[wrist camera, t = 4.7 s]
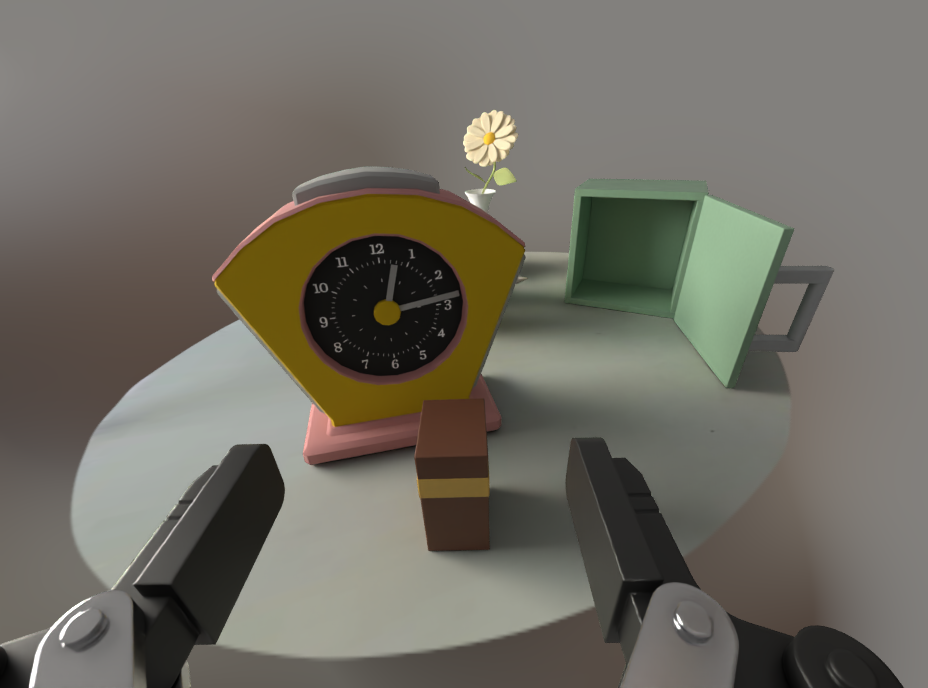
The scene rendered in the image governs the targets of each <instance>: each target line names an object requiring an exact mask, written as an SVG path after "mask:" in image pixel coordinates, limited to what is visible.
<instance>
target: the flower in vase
mask: <svg viewBox="0 0 928 688" xmlns="http://www.w3.org/2000/svg"><path fill="white" fill-rule="evenodd" d="M472 123H473V124H472V125H470V126H468V128H467V131H468V132H467V134H466V135H465V136H464V140H465V141H464V142H463V144H464V145H465V152H468V154H467V155H466V158H467V159H469V160H470V161H473V162H474V163H475V164H477V163H479V164H480V166H484V167H486V166H487V165H489V166H490V165H492V164H493V163H494V168H493V172H492V174H491V176H490V178H489V179H488V182H487V183H486V185H485V187H484V188H483V189H474V190H468V191H465V194H466V195H467V196H468V198H469V200H470V202H471V203H472V204H473V205H475V206H477V207H479V208H481V209H482V210H483V211H485V212H486V213H487V214H488V209H489V204H490V201H491V199H492V197H493V195H494V194H495V192H496V191H495V190H492V189H486V187H487V185H488V183H489V182H490V180H491V178H492V177H493V176H494V179H495V181H496V183H497V184H498V185H505V184H509V183H513V182H516V179H515V177H514V176H513V174H512V173H511V172H510V171H509V170H508V169H507V168H502V169H500V170H497V171H496V172H495V168H496V161H497V162H500V161H501V160H502V159H505V158H506V156H508V155H509V149H512V148H513V147H514V142H515V141H516V139H517V137H518V133H516V132H515V131H516V126H514V123H515V120H514V119H511V116H510V115H508V116H507V115H506V114H504V112H502V111H500V112H497V111H496V110H493V111H492V112H491V113H489V114H487V113H485V112H484V113H483V114H482V115H481V117H480V118H479V119H474V120H473V122H472ZM465 168H466V167H465ZM466 170H467V169H466ZM467 171H468V170H467ZM468 172H469V173H470V174H472V175H474V176H475V177H477V178H479V179H480V180H482V181H483V179H482V178H481V177H479V176H478V175H475V174H473V173H471V172H470V171H468ZM494 172H495V173H494ZM484 182H485V181H484Z"/></svg>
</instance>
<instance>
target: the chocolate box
mask: <svg viewBox="0 0 928 688" xmlns="http://www.w3.org/2000/svg"><path fill="white" fill-rule="evenodd" d="M414 458H415V465H416V472H417V485H418V492H419V497H420V498H421V505H422V512H423V518H424V525H425V531H426V538H427V545H428V550H429V551H444V550H489V549H490V536H489V495H490V486H489V464H488V446H487V430H486V414H485V399H484V398H478V399H446V400H424V401H423V405H422V412H421V418H420V425H419V431H418V437H417V444H416V450H415V457H414Z"/></svg>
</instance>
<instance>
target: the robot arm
mask: <svg viewBox="0 0 928 688" xmlns="http://www.w3.org/2000/svg"><path fill="white" fill-rule="evenodd" d="M284 494H285V487H284V482H283V479H282V477H281V474H280V471H279V469H278V466H277V464H276V461H275V459H274V456H273V454H272V451H271V449H270V447H269V446H268V445H267V444H242V445H235V446H233V447H232V448H231V449H230V450H229V452H228V453H227V454H226V456H225V457H224V459H223V460H222V461H221V463H220V464H219V465H216V466H212V467H210V468H209V469H208V470H207V471H206V472H204V473H203V474H202V475H201V476H199V477H198V478H197V479H196V480H194V481H193V482H192V484H191V485H190V486H189V488H188V489H187V490H186V492H185V493H184V494H183V495H182V497H181V498H180V499H179V503H178V504H176V505H175V506H174V507H173V509H172V510H171V511H170V513H169V514H168V515H167V519H166V521H163V522H162V523H161V525H160V526H159V527H158V529H157V530H156V531H155V532H154V534H153V535H152V536H151V538H150V539H149V540H148V542H147V543H146V544H145V546H144V547H143V548H142V550H141V551H140V552H139V554H138V555H137V556H136V558H135V559H134V560H133V562H132V563H131V564H130V566H129V567H128V568H127V569H126V571H125V572H124V573H123V575H122V576H121V577H120V579H119V580H118V581H117V583H116V584H115V585H114V586H113V587H112V589H111V590H110V591H105V592H102V593H99V594H96V595H94V596H92V597H90V598H88V599H86V600H84V601H82V602H81V603H79V604H78V605H76V606H75V607H73V608H72V609H71V610H69V611H68V612H67V613H66V614H64V616H62V617H61V618H60V619H59V620H58V621H57V622H56V623H55V624H54V625H53V626H52V627H51V628H49V629H46V630H43V631H40V632H37V633H34V634H31V635H28V636H24V637H21V638H18V639H15V640H12V641H9V642H6V643H3V644H0V688H191V682H190V672H189V666H188V663H187V662H186V660H187V658H188V656H189V654H190V652H191V650H192V648H193V646H194V645H200V644H201V645H204V644H206V645H210V644H216V642H217V640H218V638H219V636H220V634H221V632H222V630H223V628H224V626H225V624H226V621H227V619H228V617H229V615H230V613H231V611H232V609H233V607H234V605H235V603H236V601H237V599H238V596H239V594H240V592H241V590H242V588H243V586H244V584H245V582H246V580H247V578H248V576H249V573H250V571H251V569H252V567H253V565H254V563H255V561H256V559H257V557H258V555H259V553H260V551H261V548H262V546H263V544H264V542H265V540H266V538H267V536H268V534H269V532H270V530H271V528H272V526H273V523H274V521H275V519H276V517H277V515H278V513H279V511H280V509H281V507H282V504H283V500H284ZM566 494H567V500H568V504H569V508H570V512H571V516H572V520H573V523H574V527H575V531H576V535H577V539H578V542H579V546H580V550H581V554H582V558H583V561H584V565H585V569H586V573H587V577H588V580H589V584H590V588H591V592H592V596H593V599H594V603H595V607H596V611H597V615H598V619H599V622H600V626H601V629H602V634H603V638H604V641H605V643H620V644H621V647H622V651H623V654H624V657H625V660H626V666H625V669H624V671H623V674H622V677H621V680H620V683H619V686H618V688H903V686H902V684H901V683H900V682H899V680H898V679H897V678H896V676H895V675H894V674H893V673H892V671H891V670H890V669H889V668H888V667H887V666H886V664H885V663H884V662H883V661H882V660H881V659H880V658H879V657H878V656H876V655H875V654H874V653H873V652H872V651H871V650H869V649H868V648H867V647H865V646H864V645H863V644H861V643H860V642H858V641H857V640H855V639H854V638H852V637H850V636H848V635H846V634H845V633H842V632H840V631H837V630H835V629H832V628H828V627H825V626H808V627H805V628H803V629H802V630H800V631H799V632H798V634H797V635H796V636H795V637H793V636H790V635H787V634H783V633H780V632H777V631H774V630H771V629H768V628H765V627H762V626H758V625H755V624H752V623H749V622H746V621H744V620H741V619H738V618H736V617H734V616H732V615H730V614H729V613H727V612H726V611H724V609H723V608H722V607H721V606H720V605H719V604H718V603H717V602H716V601H715V600H714V599H713V598H711V597H710V596H709V595H708V594H706V593H705V592H703V591H702V590H701V589H700V588H699V586H698V585H697V584H696V582H695V581H694V579H693V577H692V575H691V573H690V571H689V569H688V567H687V565H686V563H685V561H684V559H683V557H682V555H681V553H680V551H679V549H678V547H677V545H676V543H675V541H674V539H673V536H672V534H671V532H670V530H669V528H668V526H667V524H666V522H665V520H664V518H663V516H662V514H661V513H659V508H658V506H657V504H656V502H655V500H654V498H653V497H652V496H651V492H650V490H649V488H648V486H647V484H646V482H645V480H644V478H643V475H642V474H641V473H640V472H639V471H638V470H637V469H636V468H635V467H634V466H633V465H632V464H631V463H630V462H629V461H628V460H627V459H626V458H612V457H611V454H610V452H609V450H608V447H607V445H606V443H605V441H604V439H603V438H601V437H593V438H572V440H571V444H570V451H569V458H568V466H567V473H566Z"/></svg>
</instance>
